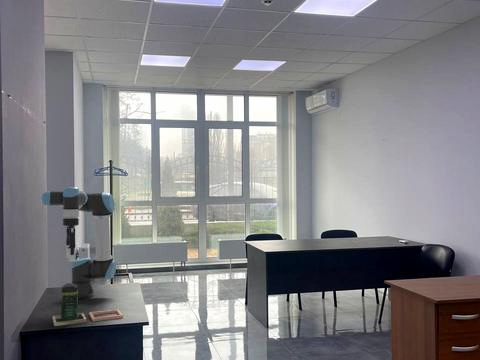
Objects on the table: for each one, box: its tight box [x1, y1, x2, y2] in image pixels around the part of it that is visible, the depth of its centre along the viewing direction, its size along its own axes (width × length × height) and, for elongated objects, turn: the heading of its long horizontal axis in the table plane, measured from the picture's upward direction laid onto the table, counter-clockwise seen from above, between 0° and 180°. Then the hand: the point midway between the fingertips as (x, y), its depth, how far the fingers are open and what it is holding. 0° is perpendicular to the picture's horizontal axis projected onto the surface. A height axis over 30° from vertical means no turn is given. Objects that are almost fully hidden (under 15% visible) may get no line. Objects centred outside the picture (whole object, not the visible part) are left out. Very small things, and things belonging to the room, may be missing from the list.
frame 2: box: [88, 308, 124, 322], centre depth 241 cm, size 13×15×2 cm
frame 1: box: [52, 312, 87, 327], centre depth 233 cm, size 13×15×2 cm
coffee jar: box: [60, 282, 79, 322], centre depth 233 cm, size 10×8×19 cm
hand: (70, 259), depth 234 cm, fingers open, 13 cm apart
